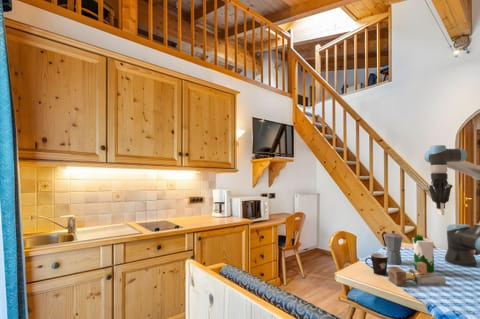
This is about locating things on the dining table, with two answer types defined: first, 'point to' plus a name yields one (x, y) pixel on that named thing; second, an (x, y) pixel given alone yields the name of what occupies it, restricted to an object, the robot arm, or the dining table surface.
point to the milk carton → (423, 252)
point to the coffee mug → (378, 263)
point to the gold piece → (420, 268)
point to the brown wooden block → (397, 276)
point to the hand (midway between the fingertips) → (441, 214)
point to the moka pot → (393, 247)
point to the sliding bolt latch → (428, 279)
